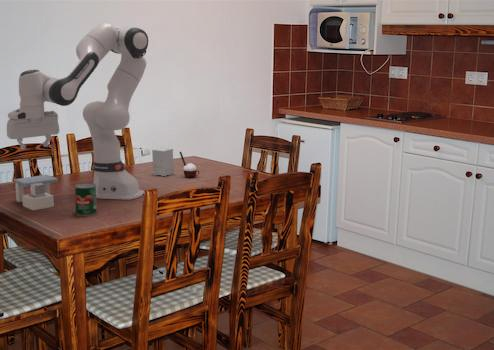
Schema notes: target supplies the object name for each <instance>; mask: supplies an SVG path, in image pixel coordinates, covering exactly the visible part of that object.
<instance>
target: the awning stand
mask: <svg viewBox="0 0 494 350" xmlns="http://www.w3.org/2000/svg"><path fill="white" fill-rule="evenodd" d="M13 180H14V183H15V197H16V200H15V201H16V202H18V203H21V202H22V207H24V208H26V209H28V210H31V211H37V210H43V209H49V208H54V207H55V202H54V195H53V194H51V189H50V188H51V186H50V185H51V184H52V183H57V182H59V178H57V177H54V176H52V175H49V174H41V175H40V174H39V175H35V176H29V177H21V178H15V179H13ZM35 183H42V184H44V187H45V196H42V197H36V198H33V197H31V193H27V194H25V188H28V187H30V184H35Z"/></svg>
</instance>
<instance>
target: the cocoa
mask: <svg viewBox="0 0 494 350" xmlns="http://www.w3.org/2000/svg"><path fill="white" fill-rule="evenodd" d="M179 156H180V158H181V160H182V163H183V165H184V166H183V175H184V177H185V176H186V178H187V177H193V178H194V176H195V177H197V176H198V175H199V174H200V170H198V169H197V166H196V165H195V164H193V163H191V162H190V163H186V161H185V159H184V156H183V153H182V151H179ZM197 172H198V173H197Z"/></svg>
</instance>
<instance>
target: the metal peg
mask: <svg viewBox="0 0 494 350" xmlns="http://www.w3.org/2000/svg"><path fill="white" fill-rule="evenodd" d="M29 187H30V194H31V197H33V198H36V197H42V196H45V187H44V184H42V183H35V184H30V186H29Z"/></svg>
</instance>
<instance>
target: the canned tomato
mask: <svg viewBox="0 0 494 350" xmlns="http://www.w3.org/2000/svg"><path fill="white" fill-rule="evenodd" d="M93 183H94V182H93ZM93 183H92V182H82V183H77V184H74V201H75V204H74V205H75V215H77V216H81V217H89V216H90V217H91V216H94V215H96V214H97V212H98V210H97V208H98V207H97V206H98V205H97V198H96V184H93Z"/></svg>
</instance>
